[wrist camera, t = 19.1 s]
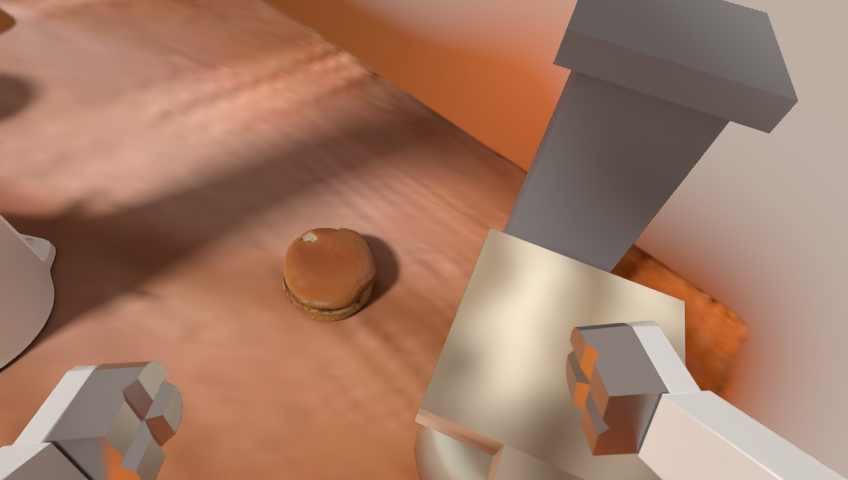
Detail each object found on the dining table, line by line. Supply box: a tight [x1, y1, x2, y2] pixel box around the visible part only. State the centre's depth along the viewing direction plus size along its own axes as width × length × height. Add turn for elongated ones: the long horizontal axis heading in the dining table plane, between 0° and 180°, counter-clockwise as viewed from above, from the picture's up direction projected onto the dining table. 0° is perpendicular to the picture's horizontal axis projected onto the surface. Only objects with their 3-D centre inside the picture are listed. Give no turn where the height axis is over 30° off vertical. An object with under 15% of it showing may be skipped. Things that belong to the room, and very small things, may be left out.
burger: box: [282, 228, 379, 321], centre depth 46 cm, size 10×9×5 cm
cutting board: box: [415, 228, 685, 480], centre depth 20 cm, size 12×24×2 cm, turn 159°
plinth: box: [461, 0, 798, 302], centre depth 39 cm, size 12×12×30 cm
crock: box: [415, 424, 493, 480], centre depth 32 cm, size 11×11×18 cm
